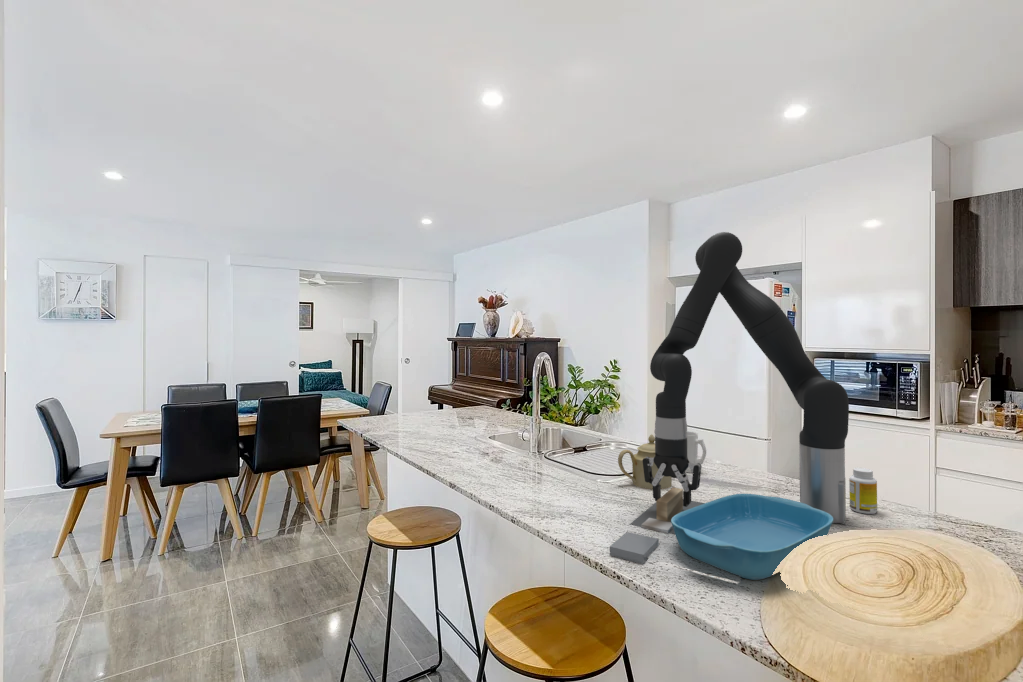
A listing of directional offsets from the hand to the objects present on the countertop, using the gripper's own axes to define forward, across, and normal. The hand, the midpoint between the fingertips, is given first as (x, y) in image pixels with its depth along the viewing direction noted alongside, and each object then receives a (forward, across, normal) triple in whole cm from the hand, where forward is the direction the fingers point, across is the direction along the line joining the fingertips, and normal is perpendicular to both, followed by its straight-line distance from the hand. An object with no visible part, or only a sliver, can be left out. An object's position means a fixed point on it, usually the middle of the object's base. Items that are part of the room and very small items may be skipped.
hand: (671, 502), depth 120 cm
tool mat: (+3, 0, 0) cm, 3 cm away
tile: (+2, 0, +19) cm, 19 cm away
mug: (+3, +7, -42) cm, 43 cm away
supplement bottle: (+3, -38, -29) cm, 48 cm away
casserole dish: (+4, -20, +9) cm, 22 cm away
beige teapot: (+3, +13, -19) cm, 23 cm away
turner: (+3, 0, +4) cm, 5 cm away
